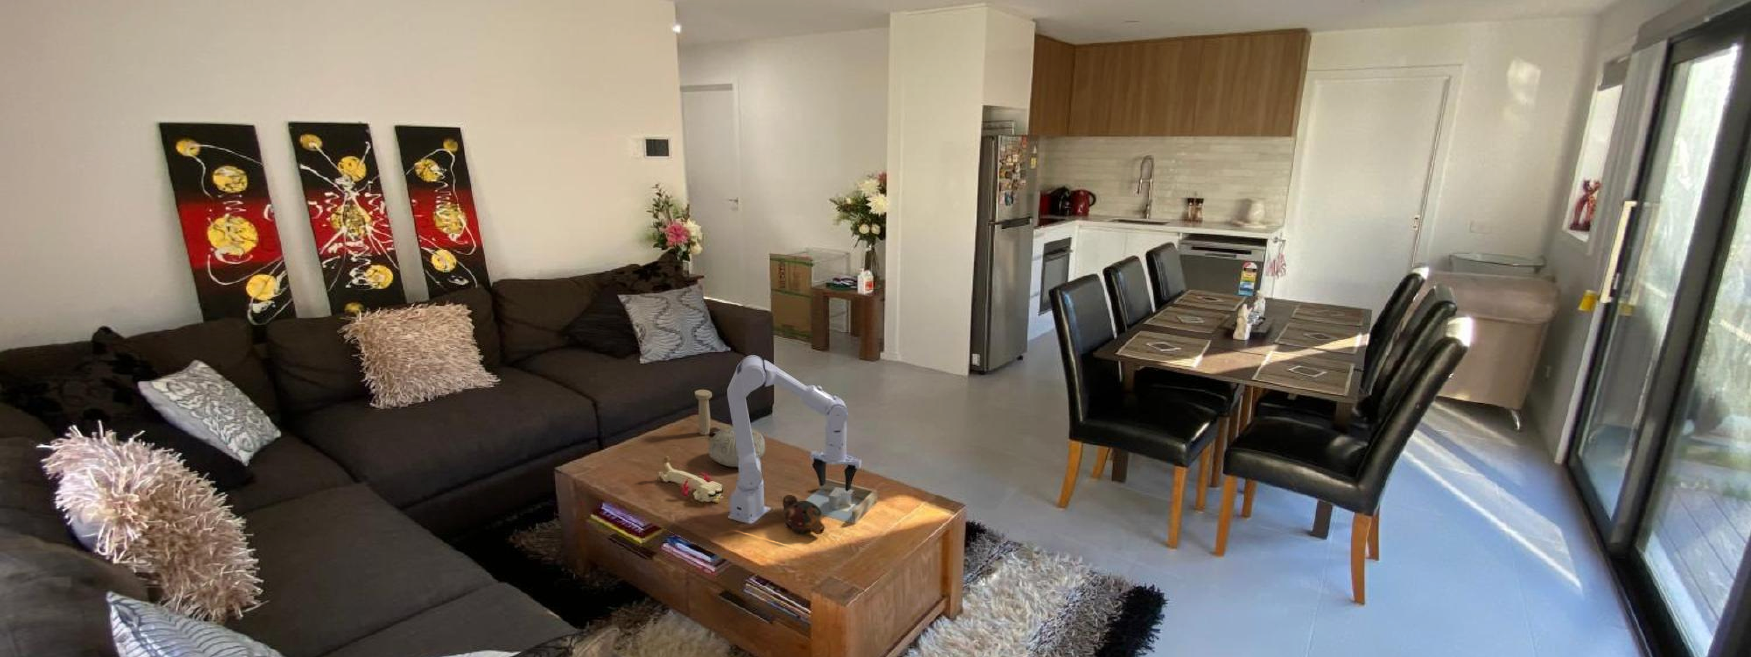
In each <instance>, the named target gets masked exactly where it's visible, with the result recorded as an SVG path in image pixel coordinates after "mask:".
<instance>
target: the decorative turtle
mask: <svg viewBox="0 0 1751 657" xmlns="http://www.w3.org/2000/svg"><path fill="white" fill-rule="evenodd" d="M782 506H783V509H784V511H783V520H784V522H785V526H786V527H787V529H793V531H794V533H795V534H797V535H799V536H800V535H803V534H805V531H810V532H811V533H814V534H815V535H821V534H822V533H823V532H824V531H825V528H826V527H825V524H823V522H822V518H823V516H822V512H821V510H820V509H819V507H818V506H816V505H815V504H813V503H811V502H809V501H805V500H799V501H798V499H797V497H796V496H795V495H793V494H786V495H785V496H784V497H783V500H782Z"/></svg>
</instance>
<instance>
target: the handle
mask: <svg viewBox="0 0 1751 657" xmlns="http://www.w3.org/2000/svg"><path fill="white" fill-rule="evenodd" d="M694 396H695V398H696V399H697V400H698V428H699V430H700V435H701V436H707V435H710V429H711V412H710V411H711V410H710V401H709V400H710V399H711V398H712V397H713V393H712V391H710V390H707V389H698V390H695V391H694Z"/></svg>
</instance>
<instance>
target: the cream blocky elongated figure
mask: <svg viewBox="0 0 1751 657" xmlns="http://www.w3.org/2000/svg"><path fill="white" fill-rule="evenodd" d="M670 461H671V457H670V456H669V455H665V456H664V457H663V460H662V463H663V465H664V466H665V468H666V469H667V471H666V472H665V473H663V471H659V472H658V476H657V481H660V482H665V483H667V482H669V481H670V482H673V483H678V484H682V490H681V495H683V496H684V497H686V498H688V497H689V492H688V490H690V488H691V489H693V490H695V491H694V492H693V496H694V499H695V500H698V501H699V502H707V503H708V502H711V501H712V502H713V503H719V502H721V499H723V498H724V496H722V494H723V493H724V489H723V484H720V483H719V482H716V481H714V480H713V479H712V478H711V477H710V476H709V475H708V474H707V473H706V472H700V473H699V474H700V475H702V476H704V477H703V478H701V477H699V476H698V475H695V474H693V473H689V472H687V471H683V470H678V469H675V468H673V467H672V465H671V464H670Z"/></svg>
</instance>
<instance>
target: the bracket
mask: <svg viewBox="0 0 1751 657" xmlns="http://www.w3.org/2000/svg"><path fill="white" fill-rule="evenodd" d="M853 504H854V490H851V489H849V491H846V490H845V488H839V487H835V489H834V490H833V491H832V492H831V494H830V495H829V509H833V510H838V509H839V507H840V506H841V505H843V506H848V507H851V506H852V505H853Z"/></svg>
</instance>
